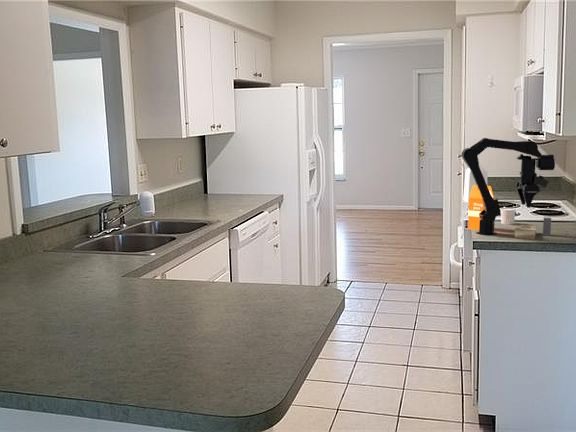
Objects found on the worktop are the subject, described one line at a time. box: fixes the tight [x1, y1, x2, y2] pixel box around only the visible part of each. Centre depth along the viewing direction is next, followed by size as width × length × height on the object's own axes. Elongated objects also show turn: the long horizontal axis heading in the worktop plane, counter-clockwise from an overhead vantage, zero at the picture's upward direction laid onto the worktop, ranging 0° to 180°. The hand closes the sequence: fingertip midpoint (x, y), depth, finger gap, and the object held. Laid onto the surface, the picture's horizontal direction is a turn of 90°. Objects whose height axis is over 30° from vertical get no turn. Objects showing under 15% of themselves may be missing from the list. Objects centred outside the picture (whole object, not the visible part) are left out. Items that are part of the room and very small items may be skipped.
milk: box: [462, 158, 489, 204], centre depth 380 cm, size 12×12×26 cm
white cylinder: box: [500, 208, 517, 226], centre depth 304 cm, size 7×7×7 cm
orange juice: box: [467, 185, 494, 231], centre depth 290 cm, size 8×9×20 cm
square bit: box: [542, 216, 552, 237], centre depth 273 cm, size 3×3×8 cm
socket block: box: [514, 224, 537, 240], centre depth 274 cm, size 16×8×3 cm, turn 157°
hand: (525, 206), depth 275 cm, fingers open, 9 cm apart
